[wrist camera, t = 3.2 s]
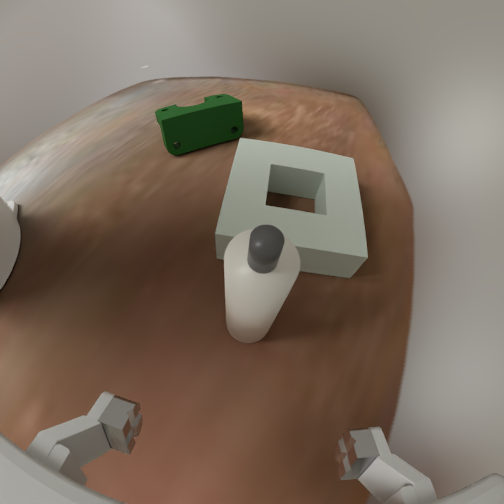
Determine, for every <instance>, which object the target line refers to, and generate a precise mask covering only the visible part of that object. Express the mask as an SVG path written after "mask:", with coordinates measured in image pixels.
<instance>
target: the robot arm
mask: <svg viewBox="0 0 504 504" xmlns="http://www.w3.org/2000/svg"><path fill="white" fill-rule="evenodd" d="M17 212H18V205H17V204H16V203H15V202H14V201H8V202H5V201H4V200H3V199H2V198H1V197H0V289H1V288H2V287H3V285H4V284H5V282H6V280H7V279H8V277H9V275H10V273H11V271H12V268H13V266H14V264H15V261H16V258H17V255H18V251H19V246H20V238H21V232H20V226H19V223H18V221H17ZM139 411H140V404H139V403H137V402H134V401H131V400H128V399H125V398H122V397H120V396H117V395H114V394H111V393H109V392H106V391H105V392H103V393H102V394H101V395H100V397H99V398H98V400H97V401H96V403H95V404H94V406H93V407H92V409H91V410H90V412H89V413H88V415H87V416H84V415H83V416H80V417H78V418H75V419H73V420H70V421H67V422H65V423H62V424H59V425H57V426H54V427H51V428H48V429H46V430H43V431H40V432H39V433H38V435H37V436H36V437H35V439H34V440H33V442H32V443H31V444H30V446H29V447H28V448H27V450H26V451H24V450H23V449H22V448H20V447H19V446H17V445H16V444H15V443H13V442H12V441H11V440H9V439H8V438H7V437H6V436H4V435H3V434H2V433H1V432H0V504H127V503H124V502H121V501H119V500H116V499H114V498H111V497H109V496H106V495H104V494H101V493H99V492H97V491H95V490H92V489H90V488H88V487H86V486H85V484H86V482H87V477H86V475H85V474H84V473H83V471H82V470H81V468H80V467H82V466H84V465H86V464H87V463H89V462H91V461H92V460H94V459H96V458H97V457H99V456H101V455H102V454H104V453H106V452H107V451H109V450H111V448H112V449H115V450H118V451H120V452H123V453H126V454H131V451H132V449H133V447H134V445H135V440H134V438H135V437H136V436H138V435H139V433H140V431H141V427H142V415H141V414H140V413H139ZM342 436H343V438H342V439H340V440H338V442H337V444H336V446H335V460H336V461H337V462H338V463H339V466H338V467H337V470H338V475H339V480H346V479H357V478H358V480H359V481H360V482H361V483H362V484H363V485H364V486H365V487H366V488H367V489H368V490H369V491H370V492H371V494H372V495H373V496H374V497H376V498H377V500H378V501H379V502H380V503H382V504H504V477H503V476H501V475H499V474H496V473H494V474H490V475H488V476H486V477H485V478H483V479H481V480H479V481H477V482H475V483H473V484H471V485H469V486H467V487H465V488H463V489H461V490H459V491H457V492H454V493H452V494H450V495H448V496H445V497H443V498H440V499H438V498H437V495H436V493H435V490H434V488H433V486H432V483H431V480H430V479H429V478H428V477H427V476H425V475H424V474H422V473H421V472H419V471H418V470H416V469H415V468H413V467H412V466H410V465H409V464H408V463H406V462H405V461H403V460H402V459H401V458H399V457H398V456H397V455H395V454H391V452H390V449H389V447H388V444H387V442H386V439H385V437H384V434H383V432H382V429H381V428H380V427H371V428H356V429H346V430H345V431H344V432H343V434H342Z"/></svg>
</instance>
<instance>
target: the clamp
mask: <svg viewBox="0 0 504 504" xmlns="http://www.w3.org/2000/svg"><path fill="white" fill-rule="evenodd" d="M204 99H205V102H204V103H202V104H199V105H194V106H188V107H178V106H176V105H172V106H168V107H165V108H161V109H159V110H157V111H156V112H155V113H156V118H157V122H158V123H159V125H160V127H161V131H162V136H163V141H164V145H165V147H166V148H167V150H168V152H169V153H170V154H172V155H180V154H183V153H186V152H189V151H192V150H196V149H199V148H203V147H206V146H210V145H213V144H217V143H221V142H224V141H228V140H232V139H236V138H238V137H240V136H241V134H242V133H243V112H242V101H240V100H238V99H236V98H234V97H232V96H230V95H227V94H220V95H214V96H209V97H205V98H204ZM176 142H177V143H176ZM174 143H176V144H174Z"/></svg>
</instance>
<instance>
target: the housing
mask: <svg viewBox="0 0 504 504" xmlns="http://www.w3.org/2000/svg"><path fill="white" fill-rule="evenodd" d="M267 191H268V192H274V193H280V194H286V195H292V196H298V197H304V198H309V199H315V213H309V212H304V211H298V210H292V209H286V208H280V207H273V206H267V205H266V197H267ZM260 225H272V226H275V227H277V228H278V229H279V230H280V231H281V232H282V233H283V235H284V236H286V237H287V238H288V239H289V240H290V241H291V242H292V243H293V244H294V246H295V247H296V249H297V251H298V253H299V257H300V271H302V272H309V273H316V274H323V275H331V276H338V277H345V278H351V277H352V276H353V274H354V273H355V272H356V271H357V270H358V269H359V267H360V266H361V265H362V264H363V263H364V262H365V260H366V259H367V258H368V253H367V243H366V234H365V226H364V218H363V211H362V204H361V198H360V192H359V186H358V180H357V174H356V169H355V164H354V159H353V158H349V157H345V156H341V155H336V154H332V153H327V152H323V151H318V150H313V149H308V148H303V147H297V146H292V145H286V144H280V143H274V142H267V141H260V140H253V139H245V138H240V140H239V143H238V147H237V151H236V154H235V158H234V162H233V165H232V169H231V173H230V176H229V180H228V184H227V188H226V192H225V195H224V199H223V203H222V207H221V211H220V215H219V219H218V223H217V227H216V232H215V242H216V257H217V259H222V260H224V254H225V250H226V248H227V246H228V244H229V243H230V241H231V240H232V239H233V238H234V237H235V236H236V235H238V234H239V233H241V232H243V231H246V230H249V229H253V228H256V227H257V226H260Z"/></svg>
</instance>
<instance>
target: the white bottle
mask: <svg viewBox="0 0 504 504" xmlns="http://www.w3.org/2000/svg"><path fill="white" fill-rule="evenodd" d="M299 271H300V257H299V253H298V251H297V249H296V247H295V246H294V244H293V243H292V242H291V241H290V240H289V239H288V238H287V237H286V236H284V235H283V233H282V232H281V231H280V230H279V229H278V228H277V227H275V226H272V225H260V226H257V227H256V228H253V229H249V230H246V231H243V232H241V233H239V234H238V235H236V236H235V237H234V238H233V239H232V240H231V241H230V243H229V244H228V246H227V248H226V250H225V254H224V279H225V307H226V326H227V330H228V332H229V333H230V335H231V336H232V337H233V338H234V339H236V340H237V341H239V342H242V343H255V342H258V341H260V340H261V339H262V338H264V337H265V335H266V334H267V332H268V331H269V329H270V327H271V325H272V323H273V322H274V320H275V318H276V316H277V314H278V312H279V311H280V309H281V307H282V305H283V303H284V301H285V299H286V298H287V296H288V294H289V292H290V290H291V288H292V286H293V284H294V282H295V280H296V279H297V276H298V274H299Z"/></svg>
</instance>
